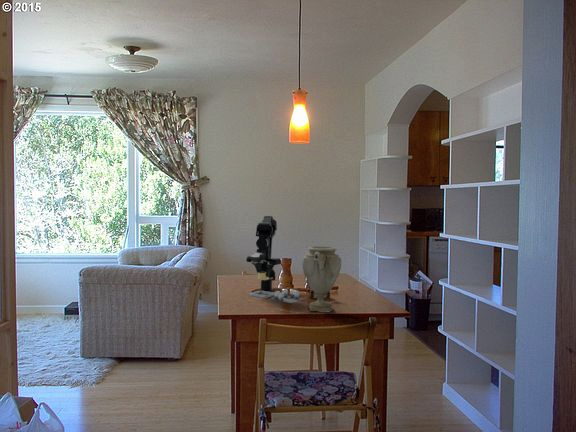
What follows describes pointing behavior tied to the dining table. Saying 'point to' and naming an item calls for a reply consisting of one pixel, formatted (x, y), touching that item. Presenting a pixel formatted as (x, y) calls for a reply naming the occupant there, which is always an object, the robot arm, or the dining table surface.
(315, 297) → the ammunition clip
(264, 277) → the brass nut
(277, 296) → the spacer posts
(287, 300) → the spacer board
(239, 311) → the dining table surface
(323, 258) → the urn
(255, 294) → the tray
